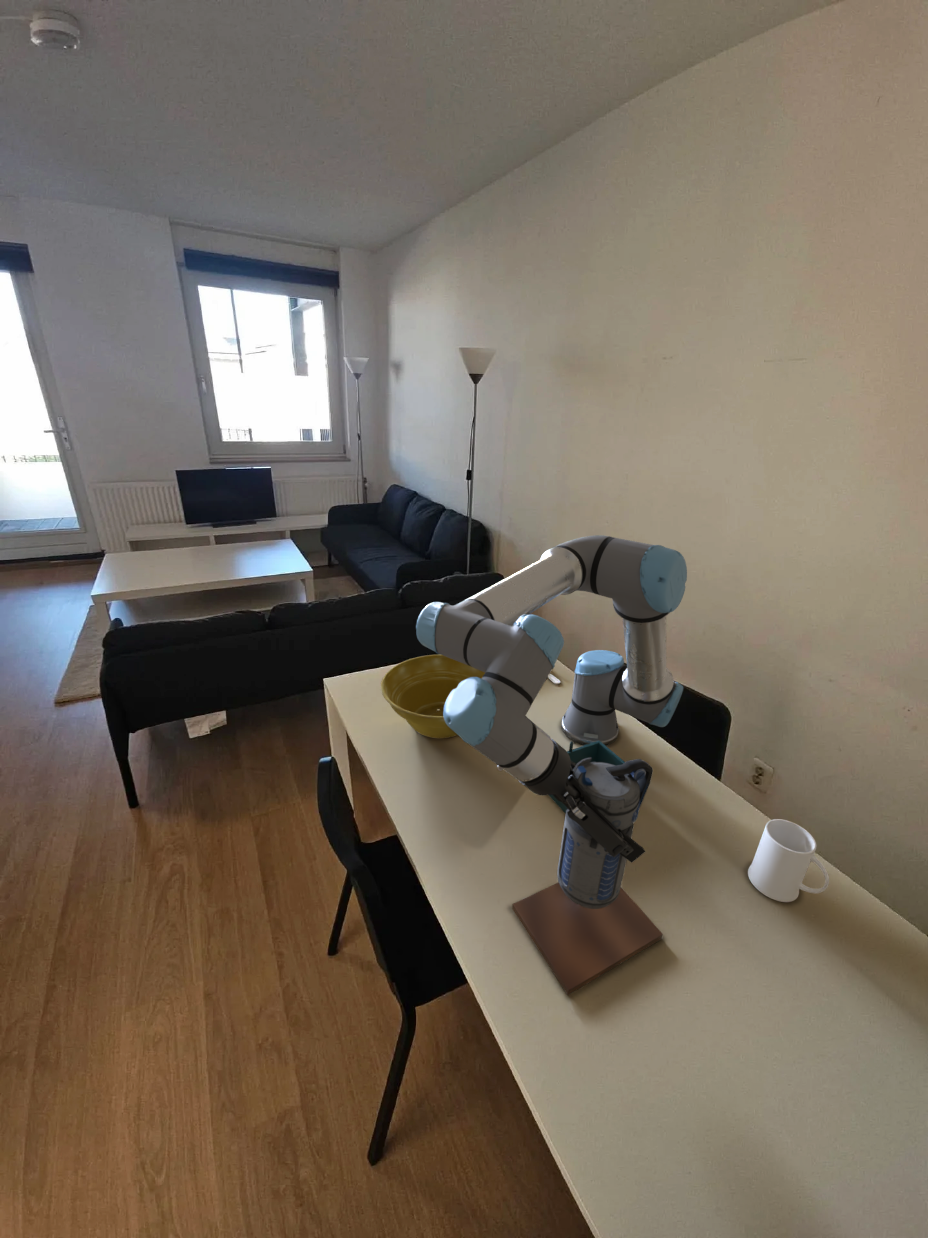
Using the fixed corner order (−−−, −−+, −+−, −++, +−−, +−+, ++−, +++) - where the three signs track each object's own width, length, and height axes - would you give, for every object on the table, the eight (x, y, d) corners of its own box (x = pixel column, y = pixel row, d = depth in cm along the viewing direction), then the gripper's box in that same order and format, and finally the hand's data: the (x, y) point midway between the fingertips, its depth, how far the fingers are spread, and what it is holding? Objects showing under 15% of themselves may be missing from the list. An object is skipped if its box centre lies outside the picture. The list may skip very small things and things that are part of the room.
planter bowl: (458, 779, 120) (459, 732, 115) (357, 733, 136) (354, 690, 130) (518, 715, 145) (521, 674, 140) (427, 682, 161) (427, 644, 155)
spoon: (551, 685, 161) (551, 684, 161) (522, 660, 176) (522, 659, 175) (565, 682, 163) (565, 680, 163) (535, 658, 178) (535, 656, 178)
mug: (826, 904, 93) (848, 856, 88) (800, 925, 89) (821, 877, 84) (764, 857, 102) (780, 811, 97) (738, 874, 98) (754, 828, 93)
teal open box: (596, 759, 128) (600, 730, 125) (639, 797, 116) (645, 767, 113) (535, 781, 120) (538, 751, 117) (575, 824, 108) (579, 792, 105)
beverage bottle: (644, 901, 81) (674, 778, 71) (570, 922, 78) (591, 795, 68) (610, 851, 90) (633, 735, 80) (542, 868, 87) (557, 748, 77)
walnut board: (598, 867, 99) (599, 862, 98) (662, 939, 86) (663, 934, 85) (511, 908, 90) (512, 904, 90) (567, 995, 77) (568, 990, 77)
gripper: (492, 728, 81) (572, 792, 90) (542, 839, 61) (639, 907, 70) (527, 697, 80) (604, 765, 89) (589, 799, 60) (680, 873, 69)
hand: (619, 827), depth 80 cm, fingers closed on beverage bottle, 10 cm apart
